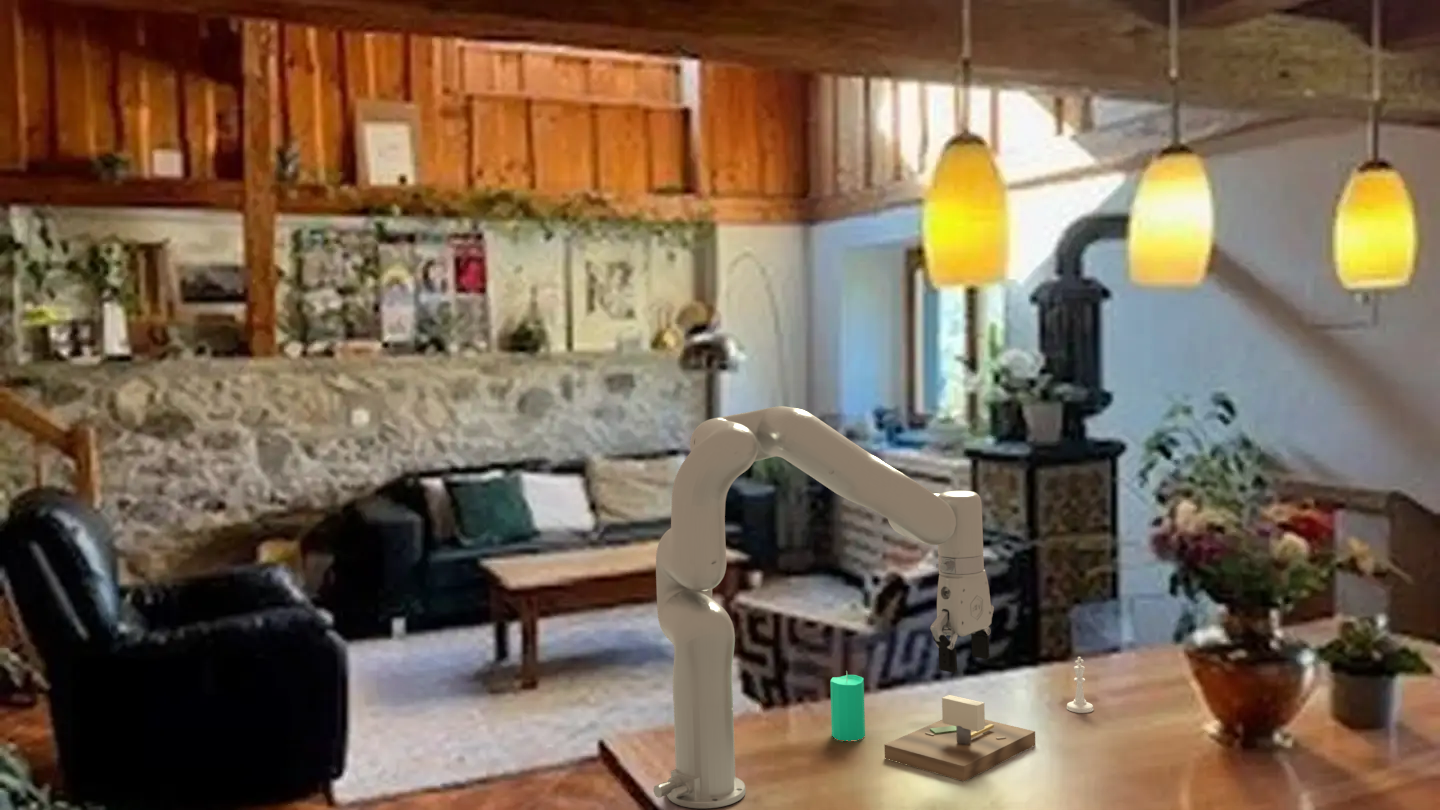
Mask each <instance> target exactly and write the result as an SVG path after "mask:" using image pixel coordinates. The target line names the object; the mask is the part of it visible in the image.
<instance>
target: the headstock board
mask: <svg viewBox="0 0 1440 810" xmlns="http://www.w3.org/2000/svg"><path fill="white" fill-rule="evenodd" d="M989 724H993V725H994V728H992V729H990V730H988V731H985V732H983V733H981V734H979V735H977V736H975V737H973V738H971V743H969V744H959V743H957V733H956V726H953V725H949V724H945V723H943V719H939V720H938V721H935V722H934V723H933V722H932V723H931V724H929V725H927V726H924V727H922V728H920V729H917V730H915V731H913V732H910V733H908V734H906V735H903V736H901V737H898V738H896V739H893V740H892V741H890V742H887V743H885V744H884V746H883V747H884V759H885V758H886V759H885V760H887V759H890V760H889V761H891V760H893V761H892V762H894V761H897V762H896V763H898V762H900V763H899V764H901V763H902V765H905V764H907V765H906V766H908V765H909V766H908V767H912V768H916V769H920V770H923V771H925V772H930V773H933V774H936V775H937V774H938V775H940V776H944V777H948V778H951V779H955V780H958V781H962V782H965V781H967V780H969V779H972V778H973V777H976V776H978V775H980V774H982V773H984V772H985V771H988V770H989V769H991V768H994V767H996V766H998V765H1000V764H1001V763H1003V762H1005V761H1007V760H1009V759H1011V758H1014V757H1016V756H1017V755H1019V754H1021V753H1023V752H1026V751H1027V750H1029V749H1031V748H1034V747H1035V746H1036V731H1035V730H1030V729H1027V728H1024V727H1023V728H1022V727H1019V726H1013V725H1011V724H1010V725H1009V724H1006V723H1002V722H1001V723H1000V722H998V721H993V720H988V719H985V726H987V725H989ZM972 732H974V731H973V730H971V733H972Z"/></svg>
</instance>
